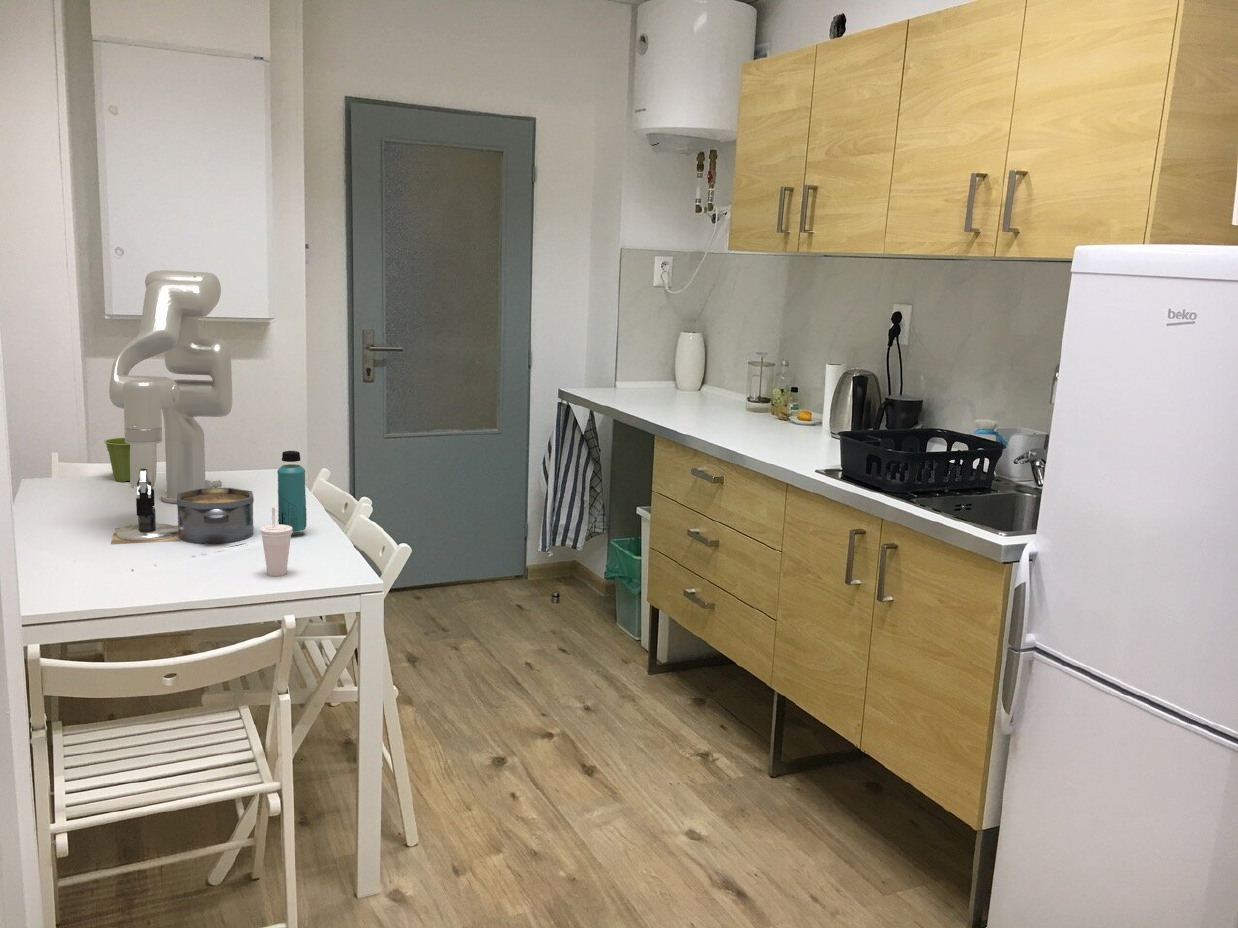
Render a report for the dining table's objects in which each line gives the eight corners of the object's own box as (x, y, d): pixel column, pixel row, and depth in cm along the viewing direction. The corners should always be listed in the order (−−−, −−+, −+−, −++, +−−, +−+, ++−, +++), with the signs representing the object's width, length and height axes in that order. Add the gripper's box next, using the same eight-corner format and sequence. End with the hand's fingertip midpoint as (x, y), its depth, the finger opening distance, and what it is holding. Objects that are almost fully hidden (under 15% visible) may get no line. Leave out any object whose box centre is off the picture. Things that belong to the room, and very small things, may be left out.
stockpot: (179, 529, 239) (178, 487, 237) (251, 526, 245) (250, 484, 243) (177, 553, 220) (176, 507, 219) (255, 549, 226) (255, 504, 225)
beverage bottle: (312, 533, 242) (312, 450, 238) (295, 539, 236) (294, 454, 232) (289, 529, 244) (288, 447, 240) (271, 536, 238) (270, 451, 234)
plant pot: (139, 485, 282) (138, 445, 280) (97, 482, 282) (95, 443, 280) (159, 476, 294) (158, 438, 292) (118, 474, 294) (117, 436, 292)
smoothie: (265, 568, 213) (264, 503, 210) (296, 569, 213) (295, 504, 211) (256, 577, 206) (255, 510, 204) (289, 578, 207) (288, 511, 204)
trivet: (115, 532, 234) (115, 528, 234) (181, 529, 239) (181, 525, 239) (110, 548, 221) (110, 544, 221) (180, 545, 227) (180, 540, 226)
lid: (156, 524, 239) (155, 499, 238) (188, 534, 232) (188, 508, 231) (105, 534, 228) (104, 508, 227) (137, 544, 222) (136, 517, 221)
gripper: (127, 430, 232) (129, 503, 235) (121, 441, 217) (124, 520, 219) (163, 430, 235) (165, 502, 238) (160, 441, 219) (162, 518, 222)
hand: (145, 510), depth 229 cm, fingers open, 9 cm apart
